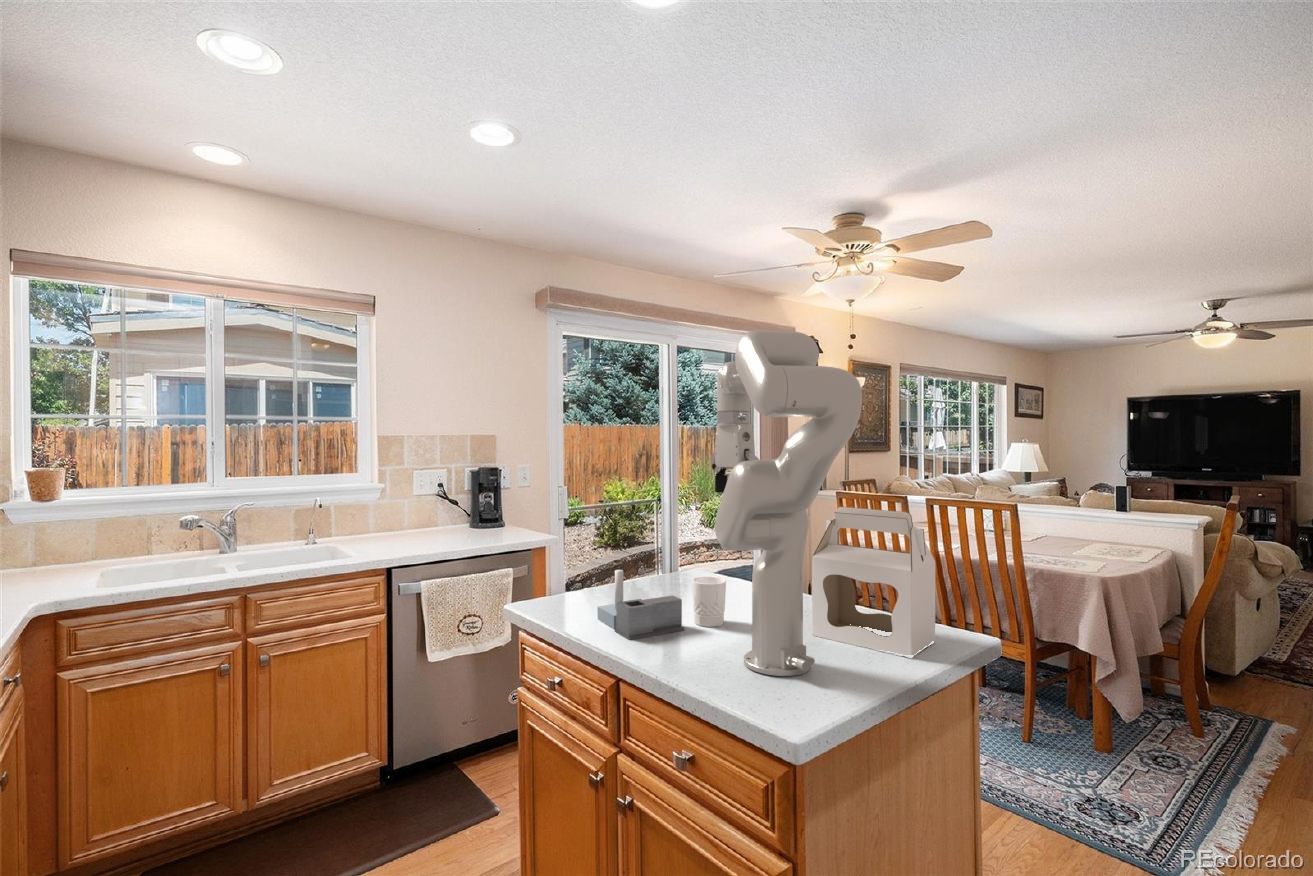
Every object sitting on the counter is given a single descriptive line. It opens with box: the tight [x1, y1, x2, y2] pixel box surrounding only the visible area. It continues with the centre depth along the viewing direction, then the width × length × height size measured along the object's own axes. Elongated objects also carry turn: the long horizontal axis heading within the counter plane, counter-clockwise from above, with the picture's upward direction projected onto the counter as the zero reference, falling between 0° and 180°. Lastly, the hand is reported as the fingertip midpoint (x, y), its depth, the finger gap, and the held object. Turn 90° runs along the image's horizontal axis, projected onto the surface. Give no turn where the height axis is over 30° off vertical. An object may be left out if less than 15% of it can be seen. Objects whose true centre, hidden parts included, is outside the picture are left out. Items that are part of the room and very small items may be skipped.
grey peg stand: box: [597, 569, 624, 630], centre depth 150 cm, size 12×9×12 cm
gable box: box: [811, 506, 936, 655], centre depth 136 cm, size 22×13×28 cm, turn 47°
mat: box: [614, 625, 686, 641], centre depth 142 cm, size 7×14×1 cm, turn 119°
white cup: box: [691, 576, 727, 628], centre depth 148 cm, size 8×8×10 cm
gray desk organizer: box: [616, 595, 683, 636], centre depth 142 cm, size 14×6×6 cm, turn 120°
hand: (733, 493), depth 147 cm, fingers open, 9 cm apart
